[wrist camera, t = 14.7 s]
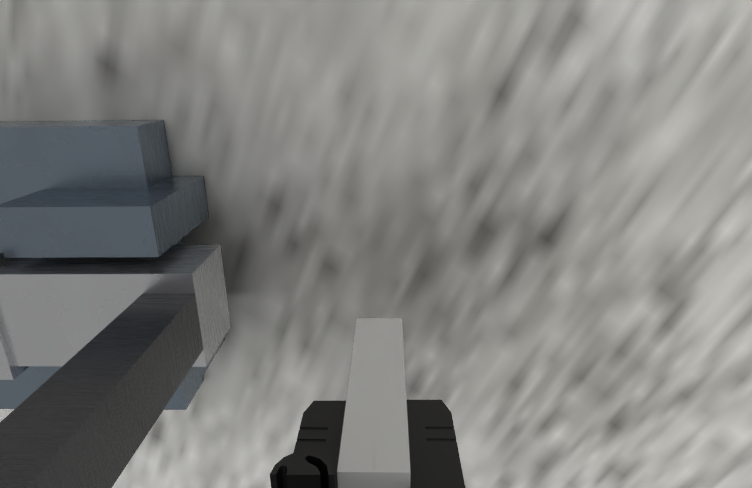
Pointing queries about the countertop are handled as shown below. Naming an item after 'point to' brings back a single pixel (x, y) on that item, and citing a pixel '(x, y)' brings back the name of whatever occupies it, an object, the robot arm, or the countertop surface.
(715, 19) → the countertop surface
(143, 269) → the lever
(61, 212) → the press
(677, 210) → the countertop surface
